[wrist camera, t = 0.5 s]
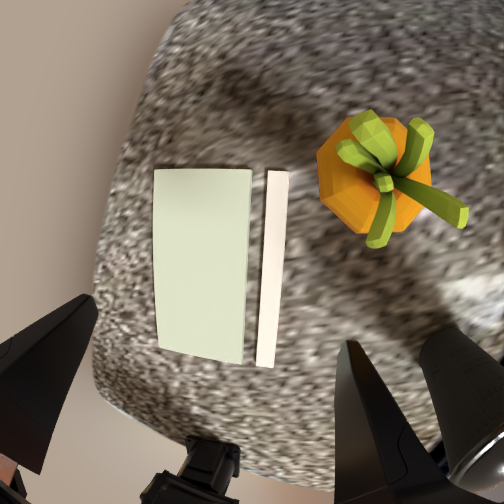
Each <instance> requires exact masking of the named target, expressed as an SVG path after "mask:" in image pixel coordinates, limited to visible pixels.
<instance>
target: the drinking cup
mask: <svg viewBox="0 0 504 504" xmlns="http://www.w3.org/2000/svg"><path fill="white" fill-rule="evenodd" d="M420 365H421V368H422V371H423V374H424V377H425V380H426V383H427V386H428V389H429V392H430V395H431V398H432V402H433V405H434V409H435V412H436V416H437V419H438V423H439V427H440V430H441V434H442V438H443V442H444V447H445V451H446V456H447V460H448V465H449V470H450V478H449V480H450V481H451V482H452V483H453V484H455V485H456V486H458V487H460V488H463V489H465V490H467V491H469V492H472V493H474V494H478V493H480V492H484V491H487V490H490V489H493V488H495V487H497V486H499V485H501V484H503V483H504V367H503V366H502V365H501V364H500V363H498V362H497V361H496V360H495V359H494V358H493V357H491V356H490V355H489V354H488V353H487V352H485V351H484V350H483V349H482V348H481V347H479V346H478V345H477V344H476V343H474V342H473V341H472V340H471V339H469V338H468V337H467V336H466V335H465V334H463V333H462V332H461V331H459V330H458V329H455V328H445V329H442V330H440V331H438V332H436V333H435V334H433V335H432V336H431V337H430V338H429V339H428V340H427V341H426V343H425V344H424V346H423V348H422V350H421V353H420Z"/></svg>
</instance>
